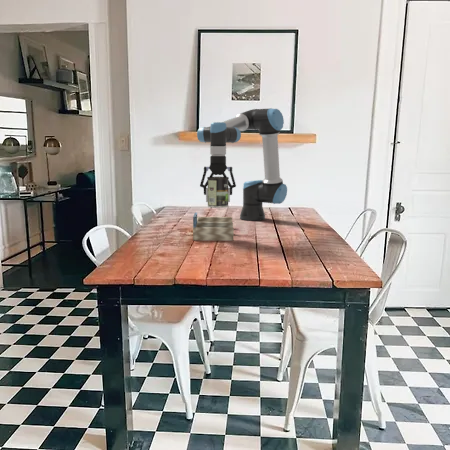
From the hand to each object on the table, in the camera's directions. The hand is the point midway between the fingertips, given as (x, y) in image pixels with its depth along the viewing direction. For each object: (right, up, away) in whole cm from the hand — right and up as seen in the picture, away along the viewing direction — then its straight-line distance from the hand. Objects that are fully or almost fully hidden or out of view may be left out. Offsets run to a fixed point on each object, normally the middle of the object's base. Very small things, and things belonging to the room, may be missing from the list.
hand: (217, 201), depth 227 cm
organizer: (-2, -16, +11) cm, 19 cm away
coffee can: (0, -2, 0) cm, 2 cm away
